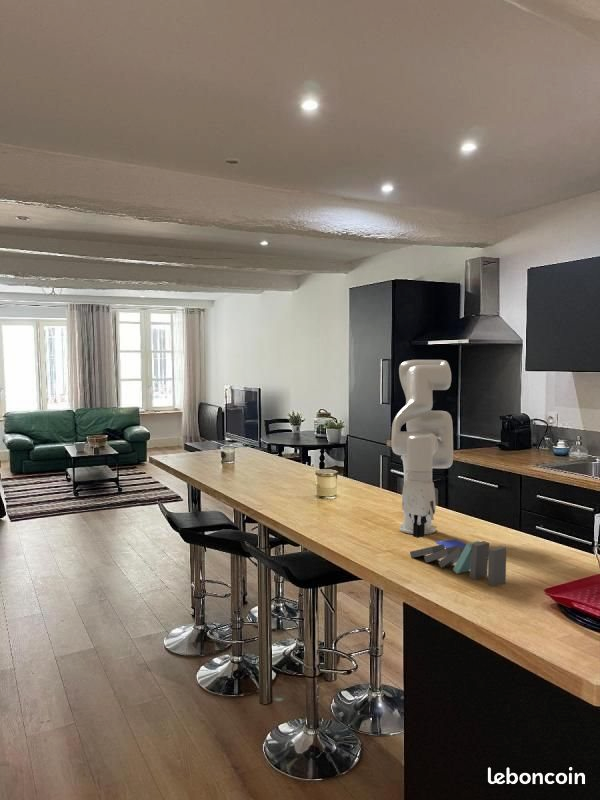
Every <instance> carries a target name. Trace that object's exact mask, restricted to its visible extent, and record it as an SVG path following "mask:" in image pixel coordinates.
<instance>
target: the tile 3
mask: <svg viewBox="0 0 600 800" xmlns="http://www.w3.org/2000/svg"><path fill="white" fill-rule="evenodd" d="M464 548H465V546H462V547H458V548H457V549H455V550H454V551H453V552H451V553H450V554H449V555H447V556H446V557H444V558H442V559H440V560H438V562H437V563H438V566H439V567H440V568H441V569H443V568H446V566H447V567H450V566H449V565H451V566H453V565H456V563H457V561H458V559H459V557H460V555H461V554H462V552H463V550H464ZM442 567H443V568H442Z"/></svg>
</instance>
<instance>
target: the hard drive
mask: <svg viewBox="0 0 600 800" xmlns="http://www.w3.org/2000/svg"><path fill="white" fill-rule="evenodd" d="M436 544H437V545H442V544H444V548H449V547H453V546H457V545H458V547H462V546H466V544H467V543H465V542H463V541H461V540H459V539H457V538H455V539H446V540H445V539H444V540H437V541H435V545H436ZM437 545H436V546H437Z"/></svg>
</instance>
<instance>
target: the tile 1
mask: <svg viewBox="0 0 600 800" xmlns="http://www.w3.org/2000/svg"><path fill="white" fill-rule="evenodd" d="M443 549H445V548H444V544H442V545H433V546H428V547H424V548H421V549H416V550H413V551H412V550H411V551H409V553H410V557H411V559H412V558H417V557H421V556H423V557H424V556H428V555H430V554H433V553H435V552H438V551H440V550H443Z"/></svg>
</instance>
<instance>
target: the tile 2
mask: <svg viewBox="0 0 600 800" xmlns="http://www.w3.org/2000/svg"><path fill="white" fill-rule="evenodd" d="M457 548H458V545H457V546H453V547H449V548H446V549H443V550H440V551H438V552H435V553H432V554H427V555H424V556H423V558H424V561H425V563H426V564H427V563H431V562H435V560H436V561H440V560H442V559H443V558H445V557H446V556H447V555H449V554H450V553H451V552H453V551H454V550H455V549H457Z"/></svg>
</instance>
